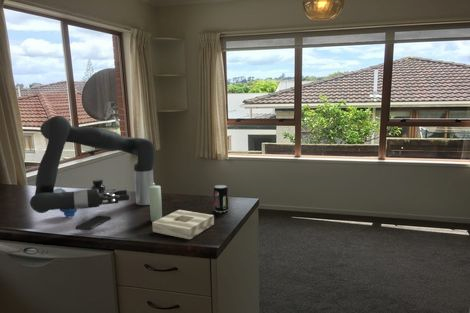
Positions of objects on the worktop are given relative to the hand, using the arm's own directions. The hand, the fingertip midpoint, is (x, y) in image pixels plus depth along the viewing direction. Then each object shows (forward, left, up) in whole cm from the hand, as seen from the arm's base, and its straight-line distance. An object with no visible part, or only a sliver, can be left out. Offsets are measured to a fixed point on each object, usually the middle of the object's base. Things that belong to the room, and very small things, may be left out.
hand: (127, 194), depth 154 cm
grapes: (+6, -33, -13) cm, 36 cm away
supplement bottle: (-17, -37, -13) cm, 42 cm away
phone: (+6, -15, -13) cm, 21 cm away
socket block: (-6, +24, -13) cm, 28 cm away
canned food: (-6, -51, -13) cm, 53 cm away
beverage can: (-32, +27, -13) cm, 44 cm away
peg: (-9, +7, -13) cm, 17 cm away
